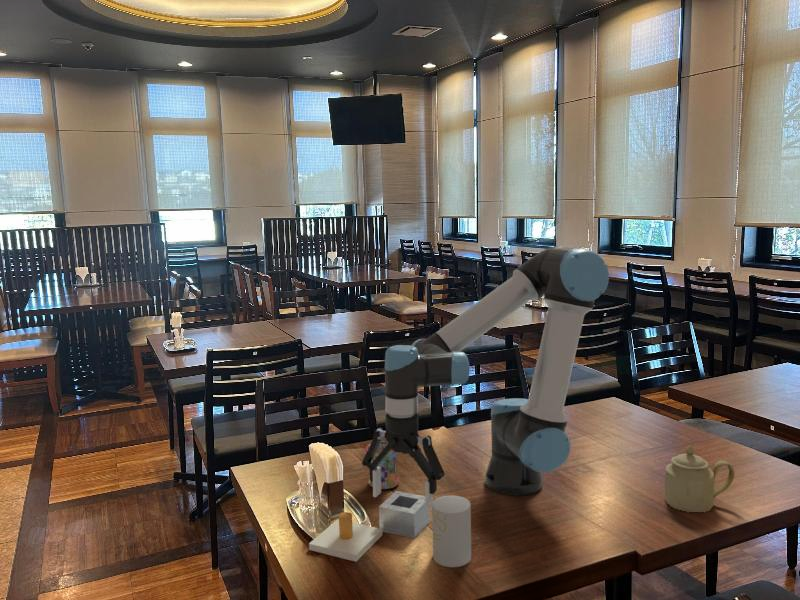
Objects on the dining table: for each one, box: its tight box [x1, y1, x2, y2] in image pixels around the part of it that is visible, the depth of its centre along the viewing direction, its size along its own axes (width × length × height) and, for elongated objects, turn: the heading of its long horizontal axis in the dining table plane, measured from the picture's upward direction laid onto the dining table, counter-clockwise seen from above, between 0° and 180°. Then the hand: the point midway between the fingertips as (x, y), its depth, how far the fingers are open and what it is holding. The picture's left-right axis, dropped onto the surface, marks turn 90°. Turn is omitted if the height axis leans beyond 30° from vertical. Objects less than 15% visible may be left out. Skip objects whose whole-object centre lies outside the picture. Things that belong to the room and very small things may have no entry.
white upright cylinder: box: [431, 494, 472, 568], centre depth 136 cm, size 8×8×12 cm
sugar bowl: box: [664, 444, 735, 513], centre depth 157 cm, size 15×11×15 cm
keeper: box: [308, 511, 383, 563], centre depth 143 cm, size 12×12×6 cm
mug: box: [365, 440, 400, 490], centre depth 173 cm, size 12×9×11 cm
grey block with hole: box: [378, 490, 431, 540], centre depth 150 cm, size 9×9×6 cm
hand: (402, 500), depth 149 cm, fingers open, 13 cm apart
